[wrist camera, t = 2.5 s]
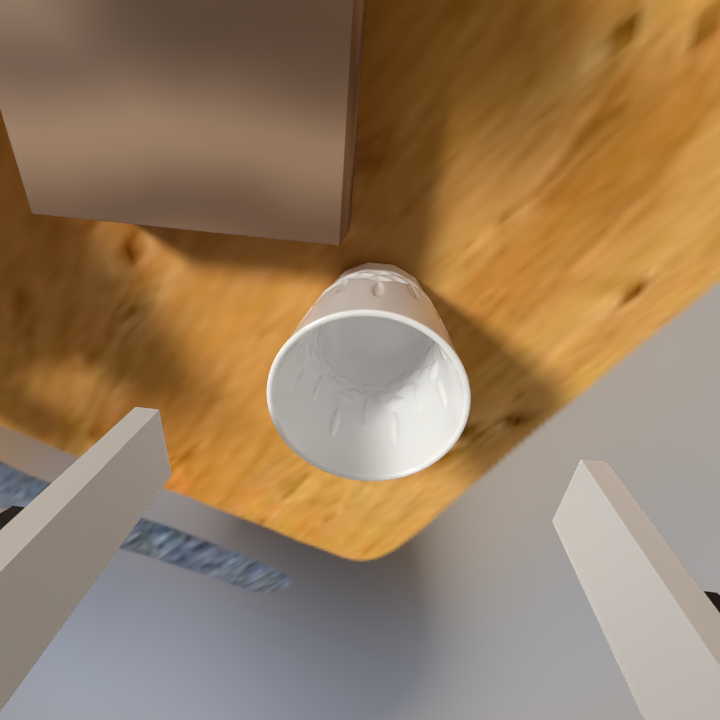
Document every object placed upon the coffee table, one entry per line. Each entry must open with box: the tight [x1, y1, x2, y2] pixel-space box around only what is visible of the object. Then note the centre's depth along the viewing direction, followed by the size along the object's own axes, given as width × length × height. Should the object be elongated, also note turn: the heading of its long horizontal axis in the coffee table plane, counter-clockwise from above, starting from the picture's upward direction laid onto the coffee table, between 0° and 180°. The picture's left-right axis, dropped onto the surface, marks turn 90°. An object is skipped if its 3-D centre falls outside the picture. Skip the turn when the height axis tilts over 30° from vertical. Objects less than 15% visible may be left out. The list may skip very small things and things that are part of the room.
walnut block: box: [0, 0, 366, 245], centre depth 16 cm, size 14×14×5 cm
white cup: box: [267, 262, 471, 481], centre depth 19 cm, size 8×8×10 cm
